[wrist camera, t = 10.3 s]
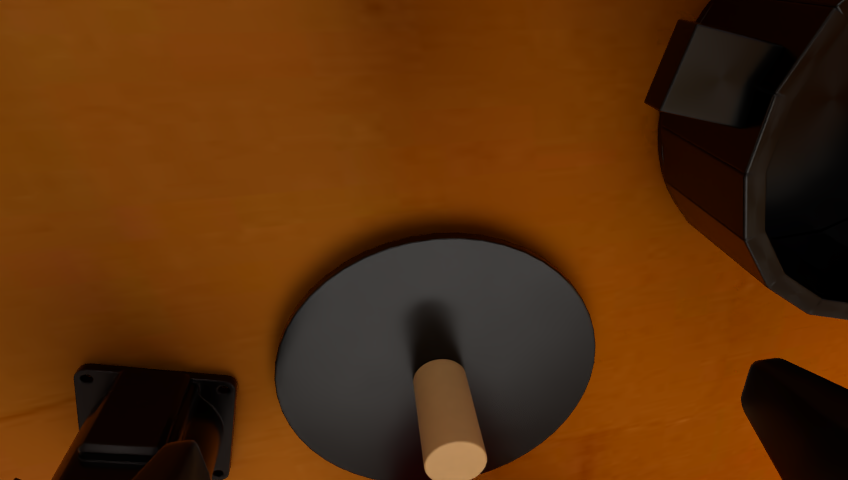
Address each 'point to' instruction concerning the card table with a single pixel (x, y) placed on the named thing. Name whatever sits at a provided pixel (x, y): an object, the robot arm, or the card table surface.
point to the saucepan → (763, 140)
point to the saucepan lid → (434, 358)
